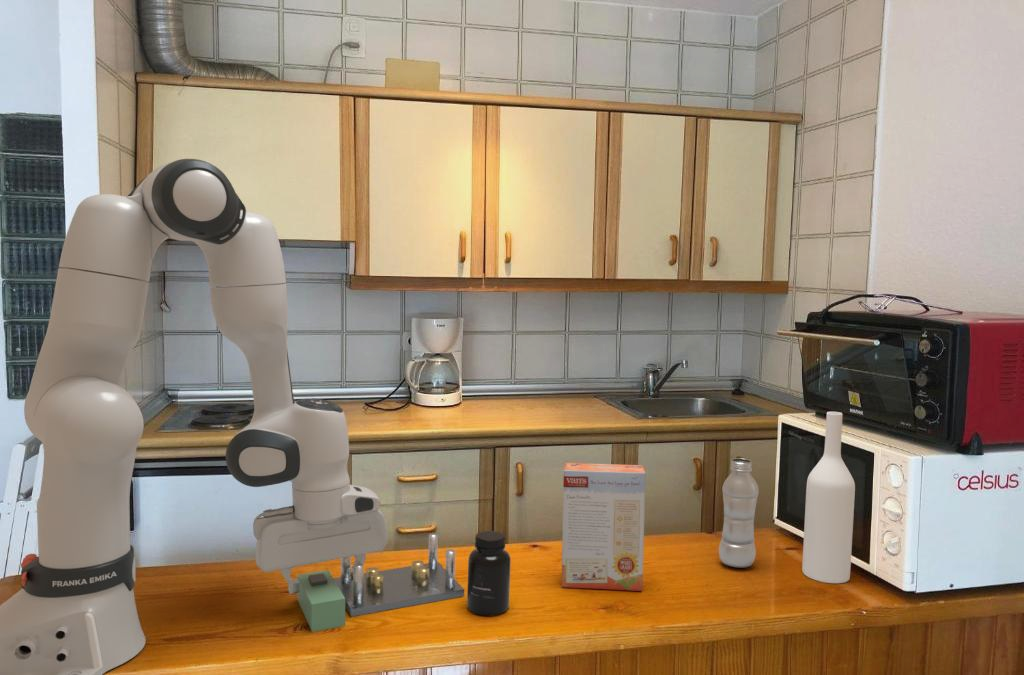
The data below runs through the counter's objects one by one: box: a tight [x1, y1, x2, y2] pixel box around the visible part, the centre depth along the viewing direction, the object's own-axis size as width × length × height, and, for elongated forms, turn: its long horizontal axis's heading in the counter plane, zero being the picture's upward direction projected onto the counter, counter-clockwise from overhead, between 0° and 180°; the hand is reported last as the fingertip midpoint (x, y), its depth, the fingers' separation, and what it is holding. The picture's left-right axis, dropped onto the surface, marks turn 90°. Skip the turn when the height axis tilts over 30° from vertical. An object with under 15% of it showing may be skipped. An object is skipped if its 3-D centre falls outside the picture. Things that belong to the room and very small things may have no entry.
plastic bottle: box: [718, 457, 760, 569], centre depth 140 cm, size 6×7×20 cm
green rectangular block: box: [296, 569, 346, 633], centre depth 119 cm, size 12×5×5 cm, turn 26°
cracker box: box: [561, 462, 646, 592], centre depth 131 cm, size 14×6×21 cm, turn 84°
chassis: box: [333, 532, 465, 617], centre depth 127 cm, size 19×13×7 cm
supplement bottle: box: [466, 530, 512, 616], centre depth 121 cm, size 7×7×12 cm
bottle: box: [801, 411, 856, 584], centre depth 136 cm, size 8×8×30 cm
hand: (324, 586), depth 120 cm, fingers open, 8 cm apart
